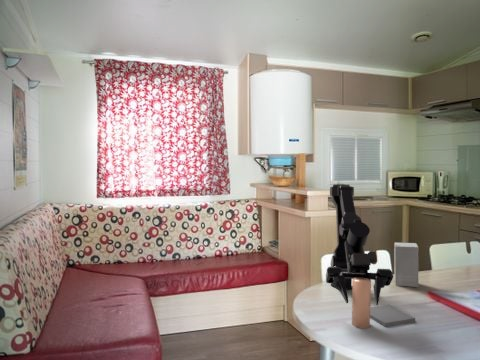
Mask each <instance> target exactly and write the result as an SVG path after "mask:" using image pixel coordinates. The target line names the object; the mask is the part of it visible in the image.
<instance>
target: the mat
mask: <svg viewBox="0 0 480 360" xmlns="http://www.w3.org/2000/svg"><path fill="white" fill-rule="evenodd" d="M371 319H372V320H373V321H374V322H376V323H378V324H379V325H381V326H383V327H386V328H387V327H390V326H397V325H401V324H403V325H404V324H409V323H413V322H414V323H415V322H416V318H415V317H414V316H412V315H410V314H408V313H407V312H405V311H403V310H400V309H398V308H397V307H394V306H393V305H390V304H383V305H382V304H381V305H375V306H370V320H371Z"/></svg>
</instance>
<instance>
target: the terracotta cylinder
mask: <svg viewBox="0 0 480 360" xmlns="http://www.w3.org/2000/svg"><path fill="white" fill-rule="evenodd" d="M352 286H353V289H351V291H352V295H351V297H352V299H351V300H352V301H351V308H352V309H351V324H352V326H353V327H355V328H359V329H368V328H369V327H371V318H370V307H371V301H372V299H371V298H372V294H371V293H372V290H371V289H372V280H370V279H367V278H363V277H355V278H353V279H352Z"/></svg>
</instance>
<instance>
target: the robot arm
mask: <svg viewBox="0 0 480 360" xmlns="http://www.w3.org/2000/svg"><path fill="white" fill-rule="evenodd" d="M329 196H330V197H331V202H332V203H333V205H334V207H335V211H336V212H335V215H336V218H335V219H336V243H337V244H336V247H335V248H334V250H333V253H332V256H331V260H330V266H328V267H327V268H326V273H325V283H326V284H330V286H332V287H334V288H336V289H337V290H338V292H340V294H341V296H342V298H343V300H344V301H345V303H346V304H348V303H349V296H348V291H347V290H352V289H353V278H355V277H363V278H367V279H370V280H371V281H373V280H374V284H373V294H374V295H373V296H374V301H375V306H379V300H380V295H381V290H382V289H384V288H385V287H389V286H390V285H391V283H392V280H393V279H394V272H393V271H392V270H391V268H377V269H376V272H369V271H370V269H371V267H370V266H371V265H372V264H376V263H377V262H378V259H377V257H378V256H377V252H376V251H369V252H368V253H365V251H366V250H365V246H366V244H367V241H368V238H369V235H370V232H371V231H370V227H369V226H368V224H366V223H364V222H362V218H361V217H360V216H359V215H358V214H357V212H356V206H355V201H354V196H355V187H354V186H351V185H350V184H339V183H337V184H336V183H333V185H332V186H330V187H329Z"/></svg>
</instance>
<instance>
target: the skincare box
mask: <svg viewBox="0 0 480 360" xmlns="http://www.w3.org/2000/svg"><path fill="white" fill-rule="evenodd" d="M419 251H420V249H419V246H418V244H417V243H416V242H394V249H393V252H394V254H393V255H394V256H393V258H394V259H393V260H394V262H393V263H394V268H393V269H394V272H393V279H394V283H395V287H396V286H397V287H410V288H411V287H413V288H419Z"/></svg>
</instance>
